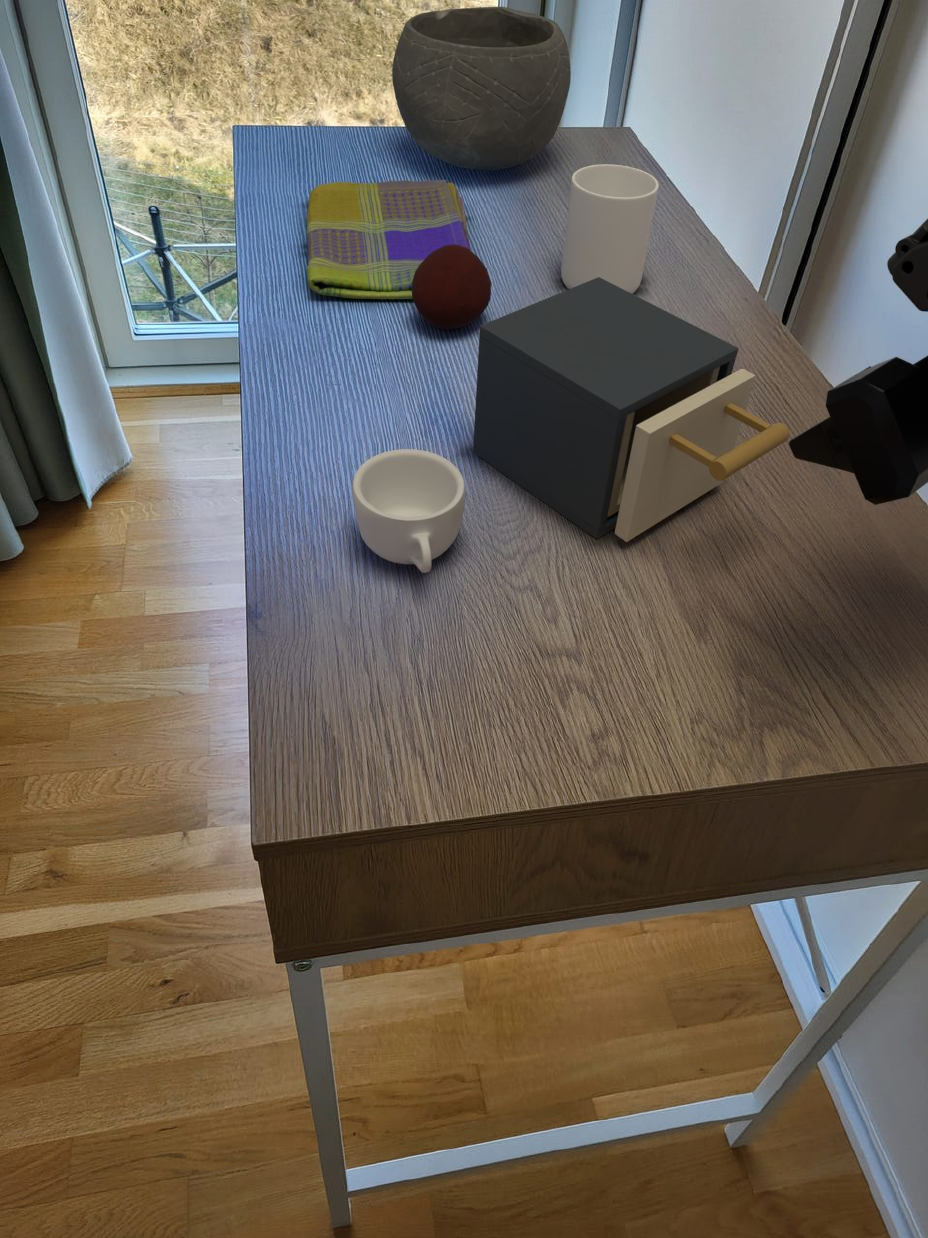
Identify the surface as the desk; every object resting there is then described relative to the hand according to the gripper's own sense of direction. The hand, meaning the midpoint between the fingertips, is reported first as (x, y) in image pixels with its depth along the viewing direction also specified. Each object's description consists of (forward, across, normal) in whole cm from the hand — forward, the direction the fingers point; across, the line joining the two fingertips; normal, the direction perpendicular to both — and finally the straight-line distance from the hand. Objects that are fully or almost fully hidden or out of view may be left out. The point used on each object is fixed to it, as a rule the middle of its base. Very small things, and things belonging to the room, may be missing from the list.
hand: (828, 426), depth 57 cm
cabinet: (+22, 0, -3) cm, 22 cm away
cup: (+37, -26, -18) cm, 48 cm away
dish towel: (+50, -11, -32) cm, 60 cm away
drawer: (+17, 0, 0) cm, 17 cm away
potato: (+39, -6, -20) cm, 44 cm away
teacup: (+22, +18, -4) cm, 29 cm away
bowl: (+59, -36, -40) cm, 80 cm away
